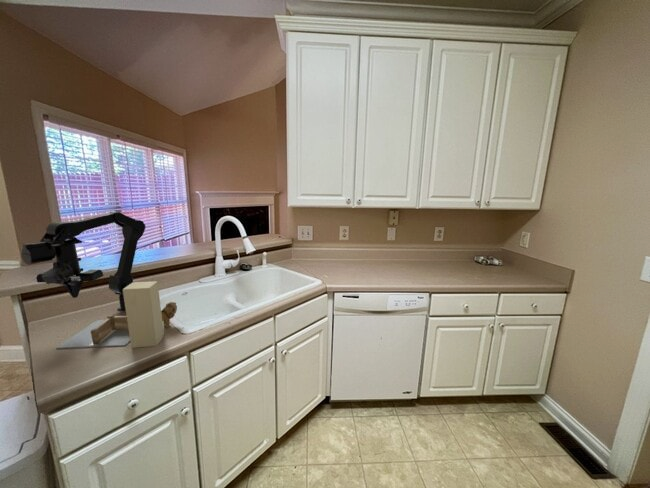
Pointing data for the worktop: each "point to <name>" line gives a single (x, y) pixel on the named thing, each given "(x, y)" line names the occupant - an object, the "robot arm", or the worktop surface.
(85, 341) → the board
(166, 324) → the lion figurine
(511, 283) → the worktop surface
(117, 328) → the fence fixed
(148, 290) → the toy refrigerator
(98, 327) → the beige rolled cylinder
